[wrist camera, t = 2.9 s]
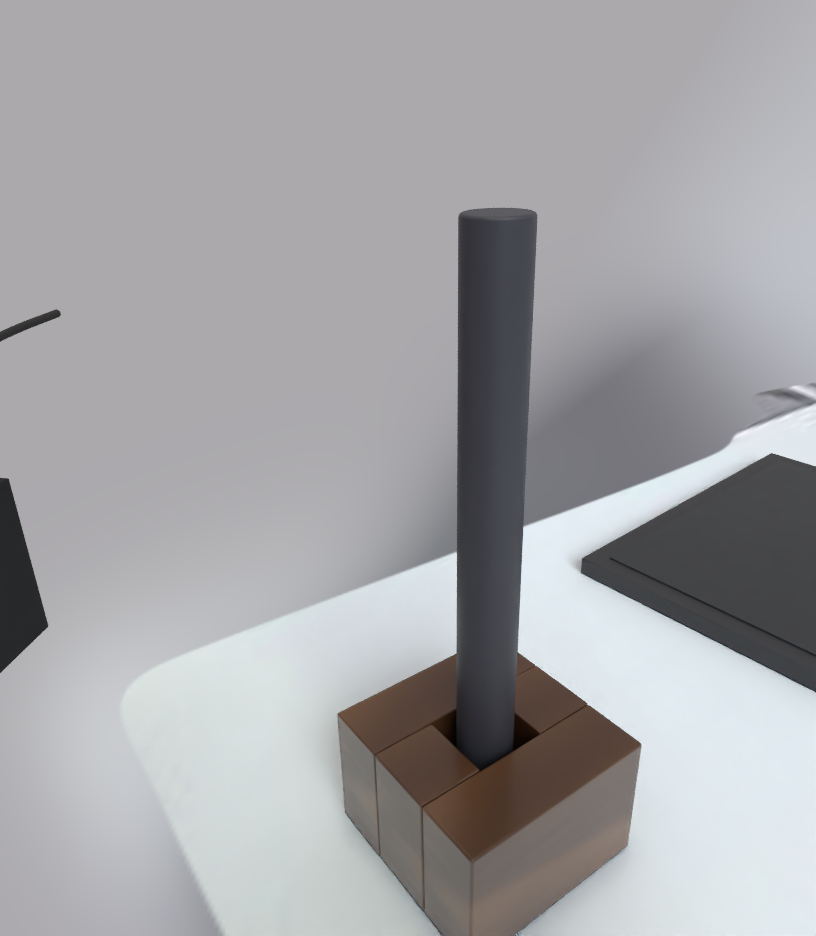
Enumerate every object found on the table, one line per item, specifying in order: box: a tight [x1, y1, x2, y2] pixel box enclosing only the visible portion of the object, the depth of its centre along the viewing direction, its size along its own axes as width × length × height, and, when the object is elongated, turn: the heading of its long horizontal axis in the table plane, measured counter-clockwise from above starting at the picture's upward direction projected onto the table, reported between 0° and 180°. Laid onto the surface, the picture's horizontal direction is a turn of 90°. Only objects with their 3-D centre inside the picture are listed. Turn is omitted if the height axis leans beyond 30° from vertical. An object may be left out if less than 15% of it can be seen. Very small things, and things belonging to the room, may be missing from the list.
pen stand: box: [337, 652, 641, 936], centre depth 25 cm, size 7×7×4 cm
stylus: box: [456, 208, 537, 771], centre depth 22 cm, size 2×2×20 cm
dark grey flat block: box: [581, 453, 816, 691], centre depth 41 cm, size 20×14×1 cm
